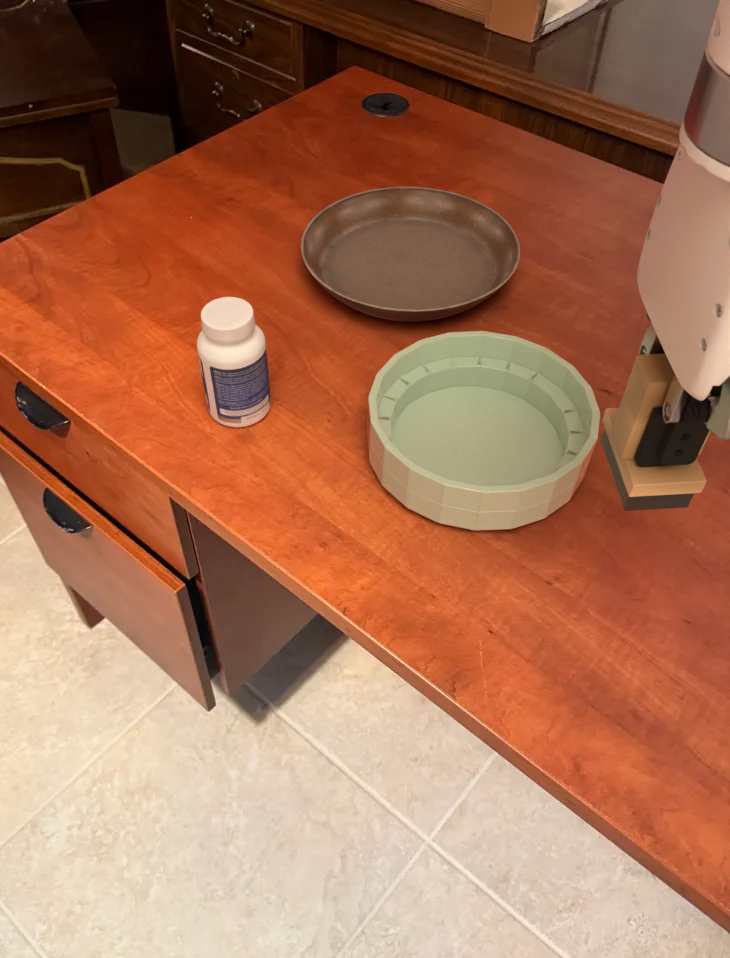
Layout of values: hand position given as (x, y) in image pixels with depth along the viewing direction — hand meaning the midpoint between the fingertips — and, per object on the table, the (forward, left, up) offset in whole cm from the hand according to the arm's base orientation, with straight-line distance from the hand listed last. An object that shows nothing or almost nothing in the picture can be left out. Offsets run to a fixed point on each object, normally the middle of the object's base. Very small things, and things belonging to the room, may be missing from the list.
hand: (656, 440), depth 46 cm
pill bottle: (+25, -20, -15) cm, 35 cm away
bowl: (+6, -14, -15) cm, 21 cm away
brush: (0, 0, -3) cm, 3 cm away
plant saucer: (+9, -38, -15) cm, 42 cm away
